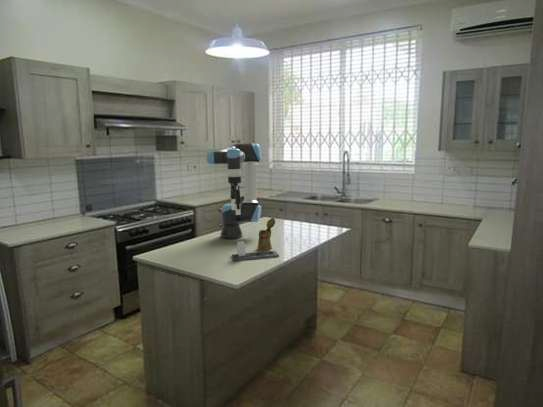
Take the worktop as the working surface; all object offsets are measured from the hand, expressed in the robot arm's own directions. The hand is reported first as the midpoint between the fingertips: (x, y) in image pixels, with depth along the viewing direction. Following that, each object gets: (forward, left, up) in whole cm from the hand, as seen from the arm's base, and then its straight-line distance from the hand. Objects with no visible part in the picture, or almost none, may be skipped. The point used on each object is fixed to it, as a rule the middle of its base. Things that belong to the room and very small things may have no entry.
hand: (236, 212), depth 227 cm
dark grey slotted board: (+9, +9, -25) cm, 28 cm away
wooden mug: (-7, +20, -25) cm, 33 cm away
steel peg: (+9, +1, -25) cm, 26 cm away
